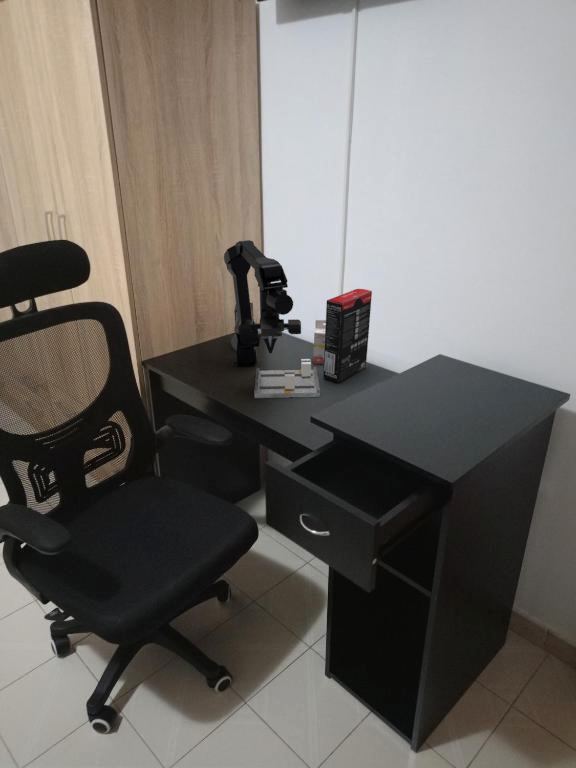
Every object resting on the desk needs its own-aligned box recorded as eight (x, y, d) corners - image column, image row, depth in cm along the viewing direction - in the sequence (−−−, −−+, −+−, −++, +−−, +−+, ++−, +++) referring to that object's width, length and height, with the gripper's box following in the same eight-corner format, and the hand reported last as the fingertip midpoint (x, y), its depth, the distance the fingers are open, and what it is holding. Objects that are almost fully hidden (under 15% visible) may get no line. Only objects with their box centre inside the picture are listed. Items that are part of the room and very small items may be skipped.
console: (254, 398, 167) (254, 390, 166) (256, 374, 183) (256, 367, 182) (319, 397, 168) (319, 389, 166) (316, 373, 183) (316, 366, 182)
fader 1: (284, 389, 168) (284, 375, 166) (284, 383, 172) (284, 370, 170) (294, 389, 168) (294, 375, 166) (294, 383, 172) (294, 369, 170)
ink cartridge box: (313, 364, 190) (313, 324, 184) (314, 358, 195) (314, 319, 188) (337, 365, 189) (339, 324, 183) (338, 359, 194) (339, 319, 187)
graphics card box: (351, 362, 191) (354, 286, 179) (368, 367, 187) (373, 290, 175) (322, 379, 179) (324, 298, 167) (340, 385, 175) (342, 303, 163)
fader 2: (301, 376, 177) (301, 363, 175) (301, 371, 180) (301, 358, 178) (311, 376, 177) (311, 363, 175) (310, 371, 180) (310, 358, 178)
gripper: (235, 313, 155) (238, 363, 162) (301, 313, 155) (301, 363, 162) (238, 301, 165) (241, 349, 172) (300, 301, 165) (300, 348, 172)
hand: (270, 352), depth 169 cm, fingers closed
